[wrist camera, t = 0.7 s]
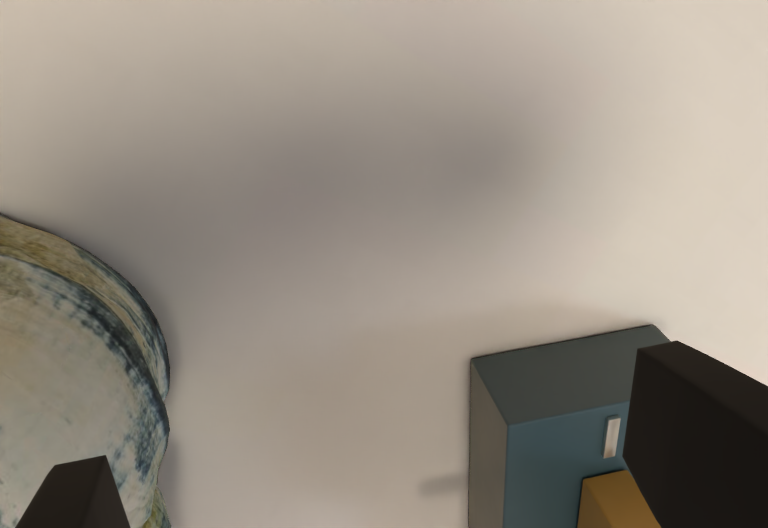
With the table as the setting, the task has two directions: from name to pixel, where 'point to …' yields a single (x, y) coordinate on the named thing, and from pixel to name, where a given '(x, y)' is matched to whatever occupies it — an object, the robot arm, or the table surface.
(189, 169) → the table surface
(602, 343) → the plate
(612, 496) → the tap handle
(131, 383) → the seashell
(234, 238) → the table surface
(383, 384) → the table surface
